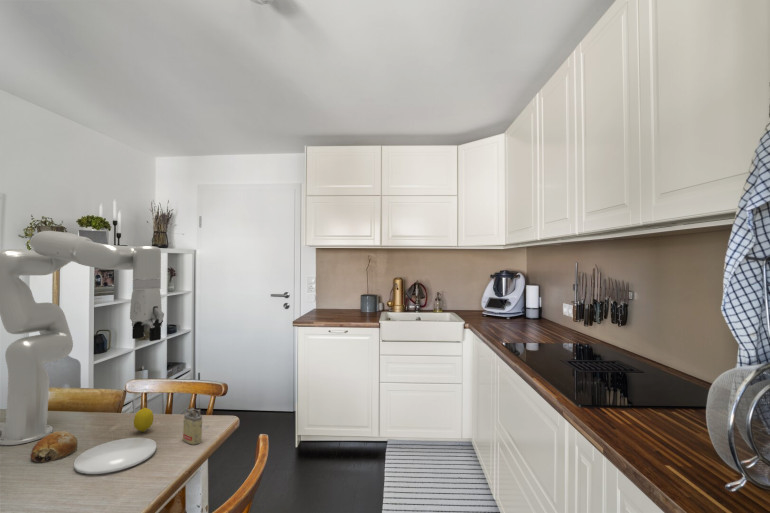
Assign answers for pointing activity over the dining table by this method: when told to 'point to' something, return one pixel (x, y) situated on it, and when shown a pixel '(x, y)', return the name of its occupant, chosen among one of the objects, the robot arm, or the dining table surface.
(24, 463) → the dining table surface
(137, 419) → the lemon
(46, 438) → the bread roll
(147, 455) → the plate
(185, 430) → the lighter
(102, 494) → the dining table surface
